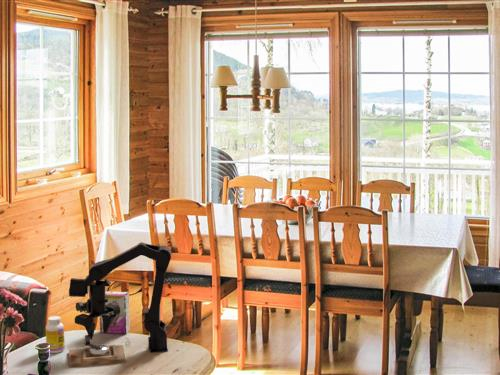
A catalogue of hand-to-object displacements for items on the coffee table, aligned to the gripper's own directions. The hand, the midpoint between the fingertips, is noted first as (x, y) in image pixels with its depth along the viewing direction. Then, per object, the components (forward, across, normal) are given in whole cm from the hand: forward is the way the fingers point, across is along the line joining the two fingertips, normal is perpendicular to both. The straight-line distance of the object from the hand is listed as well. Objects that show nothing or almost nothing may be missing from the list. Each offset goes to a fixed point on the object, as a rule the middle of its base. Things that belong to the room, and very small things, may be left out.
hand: (98, 336), depth 292 cm
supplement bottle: (+6, +9, -13) cm, 17 cm away
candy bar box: (+6, -19, -9) cm, 22 cm away
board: (+5, +6, +5) cm, 9 cm away
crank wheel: (+4, +6, +5) cm, 8 cm away
